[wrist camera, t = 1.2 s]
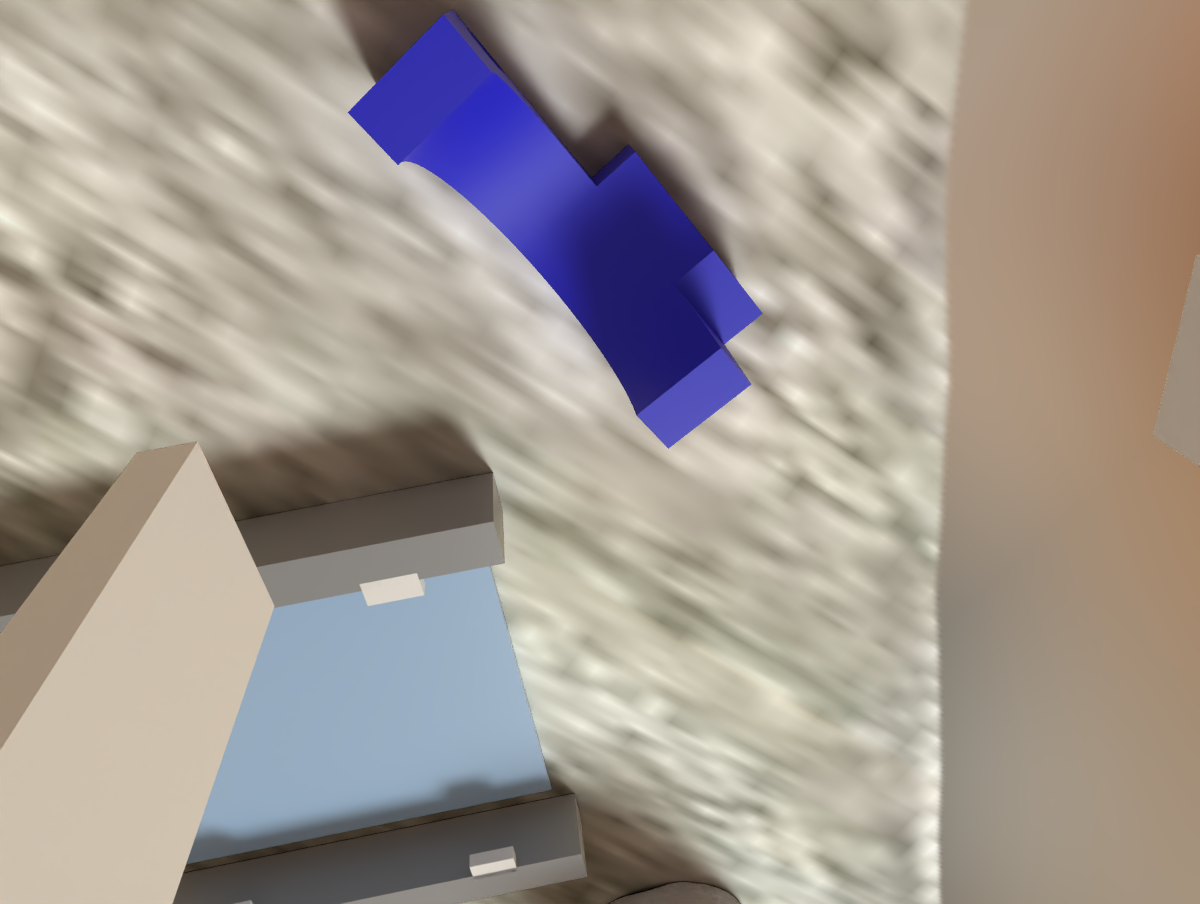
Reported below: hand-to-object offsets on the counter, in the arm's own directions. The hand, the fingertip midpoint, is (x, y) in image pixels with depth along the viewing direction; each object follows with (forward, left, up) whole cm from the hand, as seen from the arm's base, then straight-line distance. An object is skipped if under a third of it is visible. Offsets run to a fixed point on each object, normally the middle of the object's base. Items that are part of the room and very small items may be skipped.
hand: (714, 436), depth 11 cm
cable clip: (0, 0, -17) cm, 17 cm away
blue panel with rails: (+20, -15, -16) cm, 30 cm away
